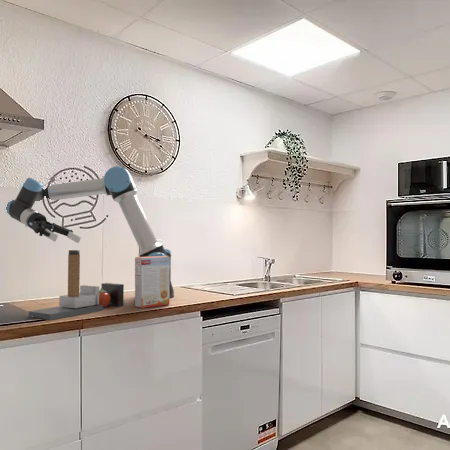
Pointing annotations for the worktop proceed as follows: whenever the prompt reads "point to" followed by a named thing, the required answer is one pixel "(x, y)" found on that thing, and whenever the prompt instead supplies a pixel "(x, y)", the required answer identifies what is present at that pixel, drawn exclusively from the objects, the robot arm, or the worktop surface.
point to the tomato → (104, 298)
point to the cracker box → (151, 281)
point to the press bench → (61, 312)
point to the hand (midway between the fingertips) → (68, 239)
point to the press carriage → (87, 293)
